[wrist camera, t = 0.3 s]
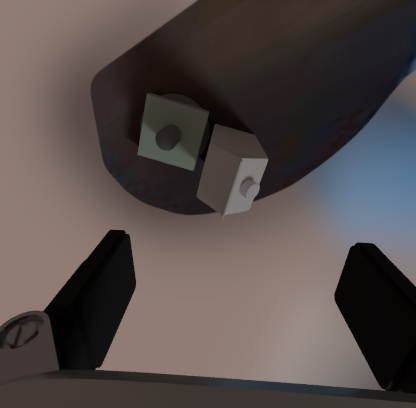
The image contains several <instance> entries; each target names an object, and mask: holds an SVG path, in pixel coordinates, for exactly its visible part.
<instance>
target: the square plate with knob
mask: <svg viewBox="0 0 416 408" xmlns="http://www.w3.org/2000/svg"><path fill="white" fill-rule="evenodd" d="M209 112H210V111H207V110H204V109H201V108H198V107H195V106H191V105H188V104H185V103H182V102H178V101H175V100H172V99H169V98H166V97H162V96H159V95H156V94H153V93H149V94H147V95H146V102H145V109H144V115H143V122H142V129H141V135H140V142H139V149H138V155H141V156H144V157H147V158H151V159H154V160H158V161H161V162H165V163H168V164H171V165H175V166H178V167H182V168H185V169H189V170H192V171H193V170H194V167H195V164H196V160H197V156H198V153H199V149H200V145H201V141H202V138H203V134H204V130H205V127H206V123H207V119H208V115H209Z"/></svg>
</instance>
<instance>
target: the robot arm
mask: <svg viewBox="0 0 416 408" xmlns="http://www.w3.org/2000/svg"><path fill="white" fill-rule="evenodd" d="M133 264H134V263H133V256H132V250H131V242H130V236H129V234H126V232H125V231H124V230H110V231H109V232H108V233H107V234H106V235H105V237H104V238H103V239H102V241H101V242H100V243H99V244H98V245H97V247H96V248H95V249H94V251H93V252H92V253H91V254H90V256H89V257H88V258H87V259H86V260H85V261H84V262H83V263H82V264H81V265H80V267H79V268H78V269H77V270H76V271H75V273H74V274H73V275H72V276H71V278H70V279H69V280H68V281H67V283H66V284H65V285H64V286H63V287H62V289H61V290H60V291H59V292H58V294H57V295H56V296H55V297H54V299H53V300H52V301H51V302H50V304H49V305H48V306H47V307H46V309H45V310H44V311H29V312H26V313H22V314H19V315H17V316H15V317H13V318H11V319H10V320H8V321H7V322H5V323H4V324H3V325H2V326H0V408H416V287H415V286H414V285H413V283H411V282H410V280H409V279H408V278H407V277H406V276H405V275H404V274H403V273H402V272H401V271H400V270H399V269H398V268H397V267H396V266H395V265H394V264H393V263H392V262H391V261H390V260H389V259H388V258H387V257H386V256H385V255H384V254H383V253H382V252H381V251H380V250H379V248H378V247H376V245H374V244H372V243H356V244H355V245H354V246H352V247H351V248H350V250H349V253H348V256H347V259H346V262H345V265H344V268H343V271H342V273H341V276H340V279H339V283H338V285H337V288H336V291H335V295H334V296H335V302H336V304H337V306H338V308H339V310H340V312H341V314H342V315H343V317H344V319H345V321H346V323H347V324H348V327H349V329H350V330H351V332H352V334H353V336H354V338H355V340H356V342H357V344H358V346H359V348H360V349H361V351H362V353H363V355H364V357H365V359H366V361H367V363H368V365H369V367H370V369H371V370H372V372H373V374H374V376H375V378H376V380H377V382H378V383H379V385H380V386H381V388H383V389H385V390H386V391H381V390H369V389H356V388H344V387H331V386H319V385H307V384H294V383H281V382H267V381H253V380H241V379H227V378H214V377H199V376H185V375H171V374H156V373H142V372H124V371H123V372H121V371H104V370H95V369H96V368H99V367H101V365H102V363H103V361H104V359H105V357H106V354H107V352H108V350H109V348H110V345H111V343H112V341H113V338H114V336H115V334H116V331H117V329H118V327H119V325H120V322H121V320H122V318H123V315H124V313H125V310H126V309H127V306H128V304H129V302H130V300H131V297H132V295H133V293H134V290H135V287H136V278H135V271H134V265H133Z"/></svg>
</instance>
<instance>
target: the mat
mask: <svg viewBox="0 0 416 408" xmlns="http://www.w3.org/2000/svg"><path fill="white" fill-rule="evenodd" d="M161 96H162V97H166V98H169V99H172V100H175V101H178V102H182V103H185V104H188V105H191V106H195V107H198V108H201V107H200V106H199V105H198V104H197V103H196V102H195V101H194V100H192V99H191V98H189V97H187V96H184V95H181V94H175V93H171V94H164V95H161ZM201 109H202V108H201ZM143 115H144V111H143V114H142V116H141V121H140V133H141V129H142V122H143ZM208 140H209V123H208V120H207V123H206V127H205V130H204V134H203V138H202V141H201V145H200V149H199V153H198V156H197V158H198V157H199V156H200V155H201V154H202V153H203V151H204V150H205V148H206V146H207V143H208ZM163 163H165V162H163ZM166 164H168V163H166ZM169 165H171V164H169Z"/></svg>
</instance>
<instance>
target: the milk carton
mask: <svg viewBox="0 0 416 408" xmlns="http://www.w3.org/2000/svg"><path fill="white" fill-rule="evenodd" d="M267 162H268V157H267V156H266V154H265V152H264V150H263V149H262V147H261V145H260V143H259V142H258V140H257V138H256V136H255V135H254V134H250V133H247V132H243V131H239V130H236V129H232V128H229V127H225V126H221V125H218V124H215V125H214V129H213V133H212V137H211V141H210V144H209V148H208V152H207V156H206V160H205V164H204V168H203V172H202V176H201V180H200V184H199V188H198V192H197V198H199V199H200V200H202V201H203V202H204V203H206V204H207V205H209V206H210V207H212V208H213V209H214V210H216V211H217V212H219V213H220V214H222V219H224V217H225V215H227V214H233V213H238V212H244V211H248V210H249V209H250V206H251V204H252V201H253V199H254V197H255V196H256V195H257V194H258V192H259V189H260V186H259V183H260V181H261V178H262V175H263V173H264V170H265V168H266V165H267Z"/></svg>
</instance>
